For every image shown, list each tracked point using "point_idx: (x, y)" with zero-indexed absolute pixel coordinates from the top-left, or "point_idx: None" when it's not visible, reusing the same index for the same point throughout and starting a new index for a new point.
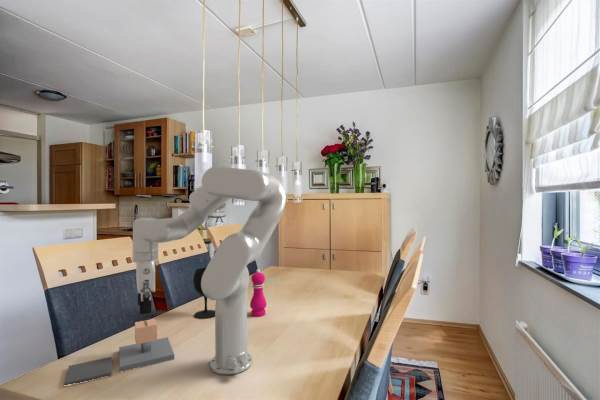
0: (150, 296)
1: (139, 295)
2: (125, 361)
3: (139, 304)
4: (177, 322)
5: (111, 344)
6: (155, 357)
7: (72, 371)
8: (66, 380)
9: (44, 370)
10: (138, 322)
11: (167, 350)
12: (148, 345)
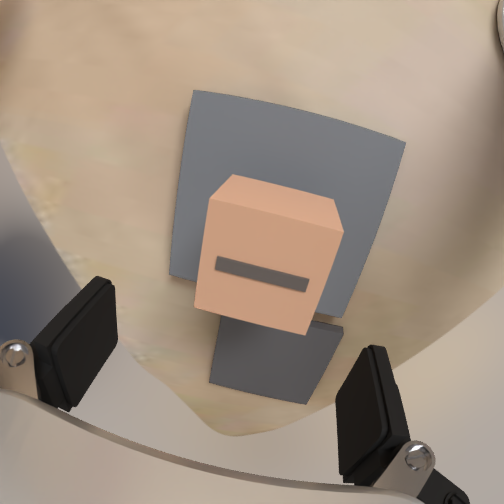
0: (425, 482)
1: (80, 394)
2: None
3: (116, 339)
4: (45, 25)
5: (102, 265)
6: (373, 209)
7: (252, 386)
8: (293, 399)
9: (183, 398)
10: (211, 297)
11: (346, 144)
12: None
